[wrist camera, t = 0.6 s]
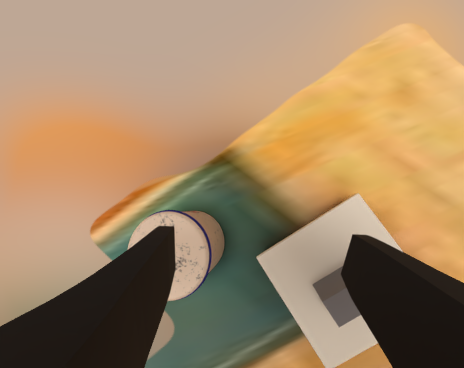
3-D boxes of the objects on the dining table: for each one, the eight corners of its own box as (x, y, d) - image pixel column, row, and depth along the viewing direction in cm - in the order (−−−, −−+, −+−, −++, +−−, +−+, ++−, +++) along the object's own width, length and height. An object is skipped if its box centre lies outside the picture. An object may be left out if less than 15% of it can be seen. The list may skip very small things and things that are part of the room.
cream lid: (435, 300, 23) (488, 330, 17) (324, 363, 24) (341, 410, 18) (354, 193, 25) (378, 190, 20) (256, 255, 26) (253, 268, 21)
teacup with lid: (201, 196, 32) (164, 190, 20) (240, 249, 30) (222, 275, 19) (138, 246, 32) (67, 267, 21) (172, 300, 31) (115, 355, 19)
